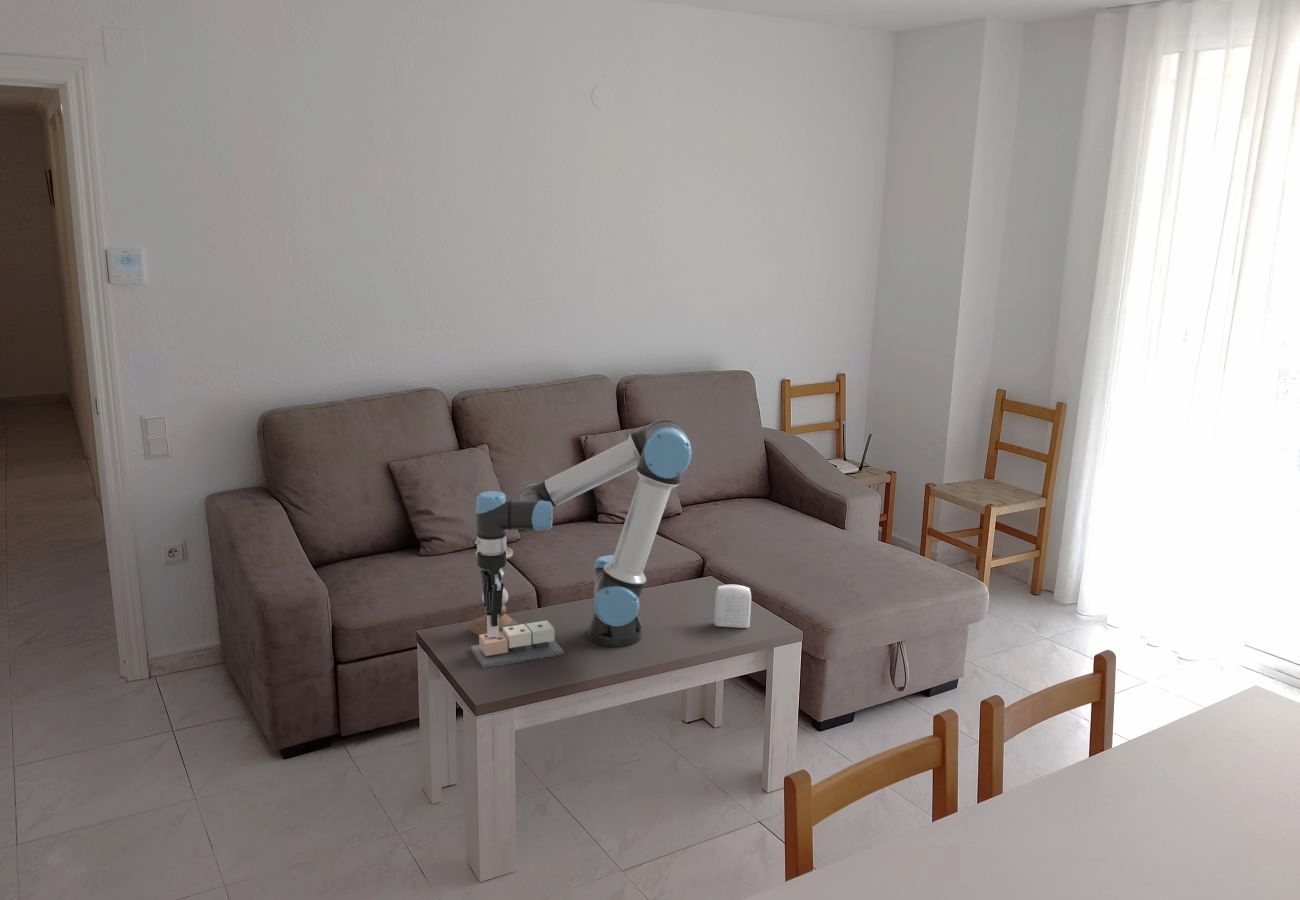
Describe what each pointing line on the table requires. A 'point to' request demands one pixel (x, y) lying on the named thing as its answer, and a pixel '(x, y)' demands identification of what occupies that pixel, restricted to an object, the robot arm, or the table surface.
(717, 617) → the photo printer
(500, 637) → the three pip key
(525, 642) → the two pip key
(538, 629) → the one pip key
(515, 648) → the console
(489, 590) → the robot arm
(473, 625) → the candle holder
